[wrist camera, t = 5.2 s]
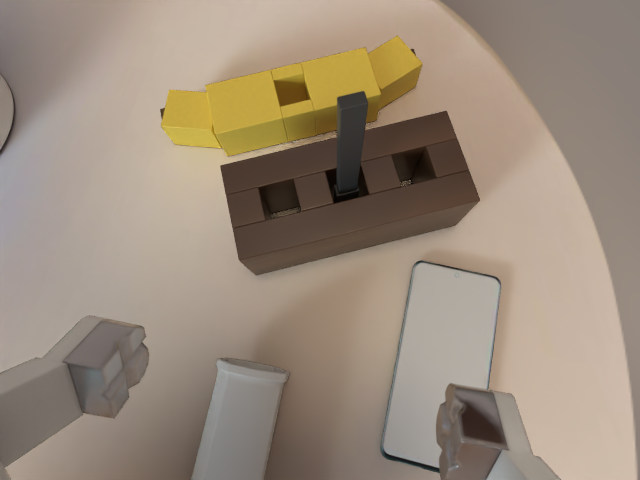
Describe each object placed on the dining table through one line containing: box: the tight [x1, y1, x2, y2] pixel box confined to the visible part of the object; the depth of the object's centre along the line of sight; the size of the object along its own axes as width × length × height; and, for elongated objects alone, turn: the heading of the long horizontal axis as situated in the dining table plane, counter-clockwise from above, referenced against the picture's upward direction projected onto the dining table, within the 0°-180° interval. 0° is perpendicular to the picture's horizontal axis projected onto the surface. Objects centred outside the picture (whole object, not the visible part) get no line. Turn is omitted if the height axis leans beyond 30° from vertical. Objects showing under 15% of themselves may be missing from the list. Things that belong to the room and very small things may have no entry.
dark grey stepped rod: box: [334, 91, 368, 203], centre depth 27 cm, size 2×1×16 cm, turn 104°
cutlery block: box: [220, 111, 480, 275], centre depth 32 cm, size 7×17×6 cm, turn 104°
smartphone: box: [381, 261, 501, 473], centre depth 31 cm, size 7×1×15 cm
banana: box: [160, 36, 422, 156], centre depth 36 cm, size 6×23×4 cm, turn 104°
